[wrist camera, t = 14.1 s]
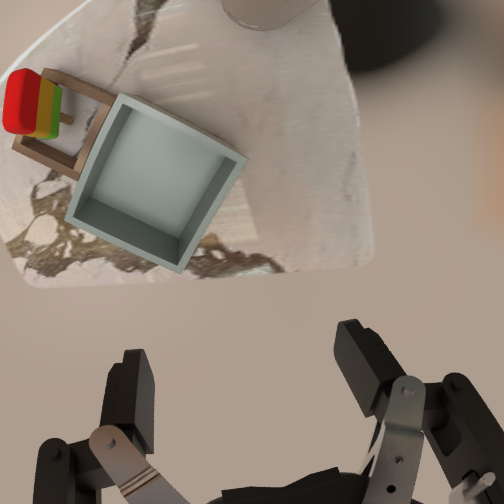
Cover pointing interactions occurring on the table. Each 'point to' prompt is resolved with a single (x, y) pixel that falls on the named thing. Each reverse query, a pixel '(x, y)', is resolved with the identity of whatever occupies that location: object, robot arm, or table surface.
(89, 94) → the collar
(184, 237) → the bin
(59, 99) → the popsicle
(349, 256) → the table surface
